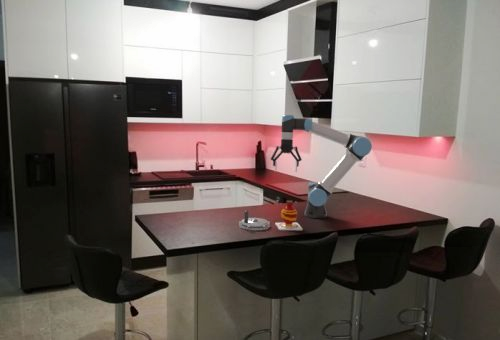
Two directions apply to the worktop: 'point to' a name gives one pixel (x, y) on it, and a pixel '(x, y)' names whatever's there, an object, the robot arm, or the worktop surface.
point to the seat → (282, 226)
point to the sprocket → (253, 221)
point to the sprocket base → (254, 228)
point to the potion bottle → (289, 214)
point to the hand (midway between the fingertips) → (285, 171)
